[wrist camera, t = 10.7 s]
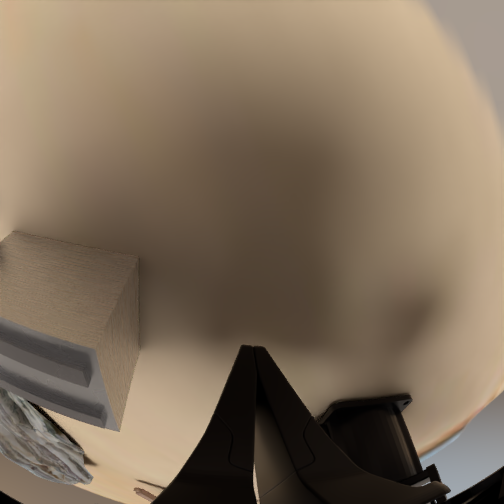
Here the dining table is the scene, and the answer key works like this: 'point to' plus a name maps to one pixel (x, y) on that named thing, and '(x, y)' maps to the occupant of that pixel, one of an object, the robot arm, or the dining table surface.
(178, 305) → the dining table surface
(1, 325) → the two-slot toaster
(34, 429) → the rock
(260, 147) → the dining table surface
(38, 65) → the dining table surface
